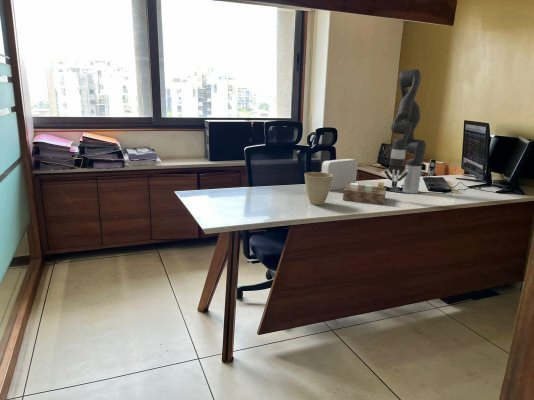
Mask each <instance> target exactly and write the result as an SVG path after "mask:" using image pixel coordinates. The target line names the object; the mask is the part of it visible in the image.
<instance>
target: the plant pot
mask: <svg viewBox="0 0 534 400" xmlns="http://www.w3.org/2000/svg"><path fill="white" fill-rule="evenodd" d="M332 177H333V175H332V174H329V173H322V171H320V172H318V171H312V172H311V171H310V172H305V173H304V182H305V183H304V184H305V189H306V193H307V197H308V201H309V203H310V205H313V206H323V205H324V204H325V202H326V200H327V197H328V196H329V195H328V194H329V192H330V191H329V189H330V186H331V182H332Z"/></svg>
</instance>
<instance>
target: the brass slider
mask: <svg viewBox="0 0 534 400" xmlns="http://www.w3.org/2000/svg"><path fill="white" fill-rule="evenodd" d="M384 185H385V182H382V181H379V182H377V187H378V189H383V188H385V187H384Z"/></svg>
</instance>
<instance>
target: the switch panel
mask: <svg viewBox="0 0 534 400" xmlns="http://www.w3.org/2000/svg"><path fill="white" fill-rule="evenodd" d="M364 190H365V185H364V184H363V185H362V184H361V185H360V184H358V190H350V184H348V185H347V186H346V188H343V195H342V196H343V197H342V201H345V202H355V203H364V204H370V205H371V204H372V205H382V206H384V204H385V201H386V194H387V193H386V192H387V187H383V189H378V186H373V189H372V192H367V191H364Z"/></svg>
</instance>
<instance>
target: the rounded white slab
mask: <svg viewBox="0 0 534 400" xmlns="http://www.w3.org/2000/svg"><path fill="white" fill-rule="evenodd" d="M321 164H322V165H321V172H322V173H329V174H332V175H333V177H332V182H331V186H330V189H329V192H330V191H335V190H340V189H345V188H346V186H347V185H348V184H351V183H357V182H356V180H357V171H358V160H357V159H354V158H341V159H332V160H324V161H323V162H322V163H321Z"/></svg>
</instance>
